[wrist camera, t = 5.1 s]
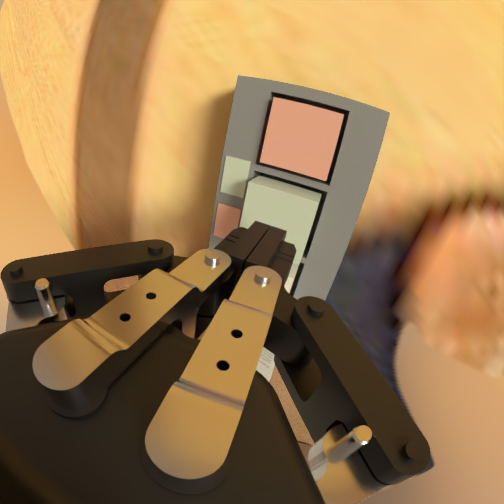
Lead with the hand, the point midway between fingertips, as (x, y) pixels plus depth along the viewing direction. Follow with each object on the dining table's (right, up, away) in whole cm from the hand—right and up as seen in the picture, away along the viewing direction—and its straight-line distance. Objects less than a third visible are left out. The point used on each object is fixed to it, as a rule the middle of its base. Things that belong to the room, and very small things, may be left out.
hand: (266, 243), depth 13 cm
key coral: (+3, +7, +3) cm, 8 cm away
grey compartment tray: (+2, +3, +7) cm, 8 cm away
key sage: (+1, +2, +5) cm, 5 cm away
